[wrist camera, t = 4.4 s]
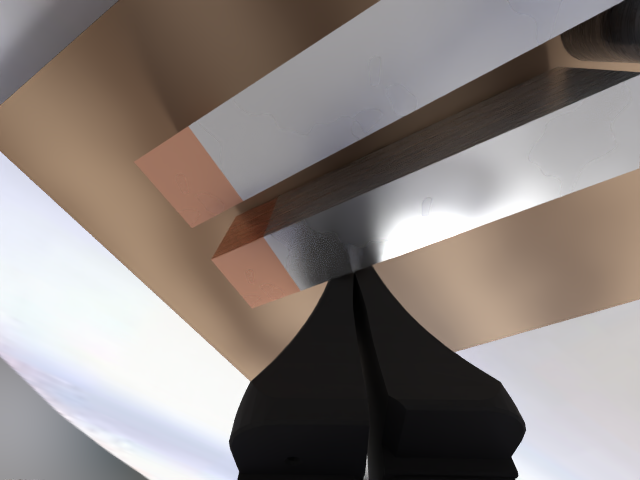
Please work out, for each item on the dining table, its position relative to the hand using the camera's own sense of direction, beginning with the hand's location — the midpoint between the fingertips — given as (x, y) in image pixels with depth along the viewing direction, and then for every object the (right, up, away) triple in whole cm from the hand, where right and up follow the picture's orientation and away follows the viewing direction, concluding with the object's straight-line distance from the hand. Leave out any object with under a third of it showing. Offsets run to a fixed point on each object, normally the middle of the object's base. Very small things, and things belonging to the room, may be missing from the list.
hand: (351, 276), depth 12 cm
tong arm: (+1, +4, -1) cm, 4 cm away
